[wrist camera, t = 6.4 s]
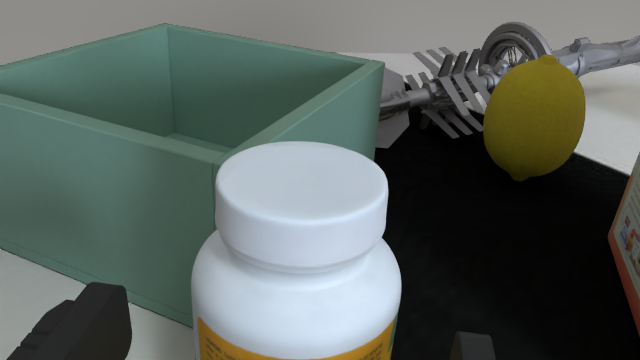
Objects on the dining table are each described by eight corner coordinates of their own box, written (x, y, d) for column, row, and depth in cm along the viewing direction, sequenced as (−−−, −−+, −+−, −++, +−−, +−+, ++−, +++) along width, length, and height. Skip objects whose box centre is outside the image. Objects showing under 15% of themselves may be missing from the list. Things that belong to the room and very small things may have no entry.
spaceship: (746, 28, 42) (669, -28, 46) (338, 121, 30) (285, 35, 34) (681, 104, 48) (618, 49, 52) (320, 207, 36) (277, 125, 40)
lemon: (577, 205, 32) (620, 72, 28) (482, 199, 32) (513, 65, 28) (547, 164, 37) (580, 46, 33) (464, 158, 37) (488, 39, 33)
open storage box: (-26, 238, 26) (-71, 83, 22) (173, 134, 38) (164, 22, 34) (236, 346, 21) (232, 167, 17) (371, 187, 32) (385, 61, 29)
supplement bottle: (191, 396, 19) (170, 137, 14) (338, 362, 20) (361, 121, 16) (219, 560, 14) (203, 257, 10) (404, 499, 16) (464, 217, 11)
